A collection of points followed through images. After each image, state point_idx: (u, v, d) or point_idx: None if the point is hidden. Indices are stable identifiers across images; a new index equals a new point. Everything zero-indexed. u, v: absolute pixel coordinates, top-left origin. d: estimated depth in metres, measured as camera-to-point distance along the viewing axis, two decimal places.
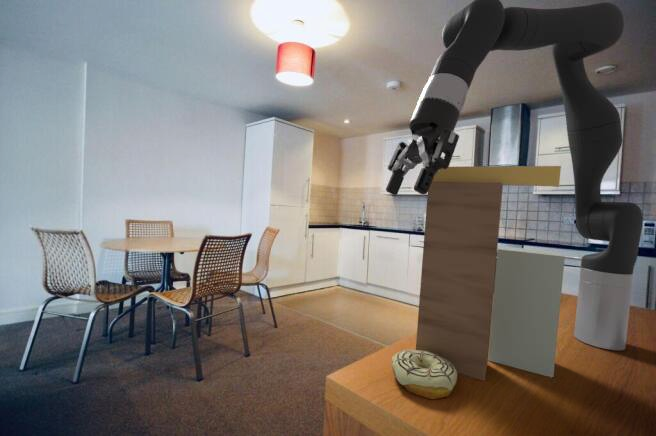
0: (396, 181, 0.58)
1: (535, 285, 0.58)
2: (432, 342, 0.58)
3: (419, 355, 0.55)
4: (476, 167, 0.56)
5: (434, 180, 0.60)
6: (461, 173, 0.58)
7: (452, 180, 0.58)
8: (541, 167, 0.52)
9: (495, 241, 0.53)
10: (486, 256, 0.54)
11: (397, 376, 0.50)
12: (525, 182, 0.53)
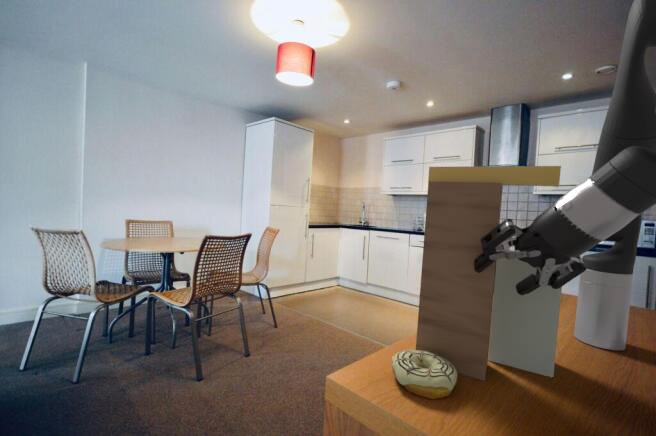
0: None
1: None
2: (432, 342, 0.58)
3: (419, 355, 0.55)
4: (476, 167, 0.56)
5: (434, 180, 0.60)
6: (461, 173, 0.58)
7: (452, 180, 0.58)
8: (541, 167, 0.52)
9: None
10: None
11: (397, 376, 0.50)
12: (525, 182, 0.53)
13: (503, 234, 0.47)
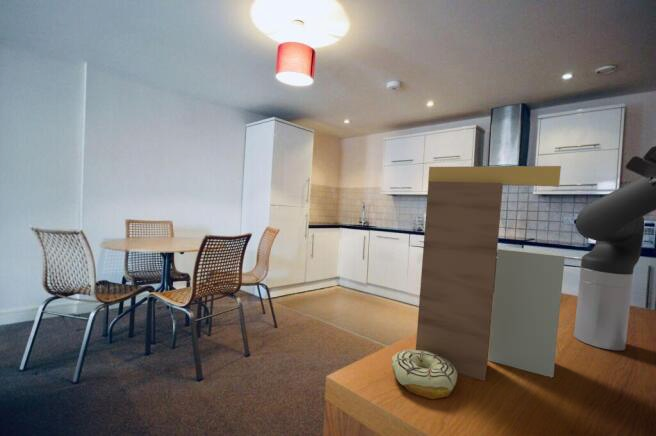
0: None
1: (535, 285, 0.58)
2: (432, 342, 0.58)
3: (419, 355, 0.55)
4: (476, 167, 0.56)
5: (434, 180, 0.60)
6: (461, 173, 0.58)
7: (452, 180, 0.58)
8: (541, 167, 0.52)
9: (495, 241, 0.53)
10: (486, 256, 0.54)
11: (397, 376, 0.50)
12: (525, 182, 0.53)
13: None
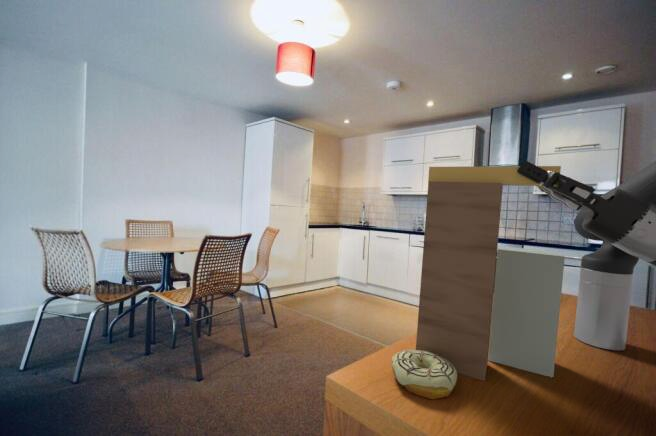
0: None
1: (535, 285, 0.58)
2: (432, 342, 0.58)
3: (419, 355, 0.55)
4: (476, 167, 0.56)
5: (434, 180, 0.60)
6: (461, 173, 0.58)
7: (452, 180, 0.58)
8: (541, 167, 0.52)
9: (495, 241, 0.53)
10: (486, 256, 0.54)
11: (397, 376, 0.50)
12: (525, 182, 0.53)
13: (570, 197, 0.46)
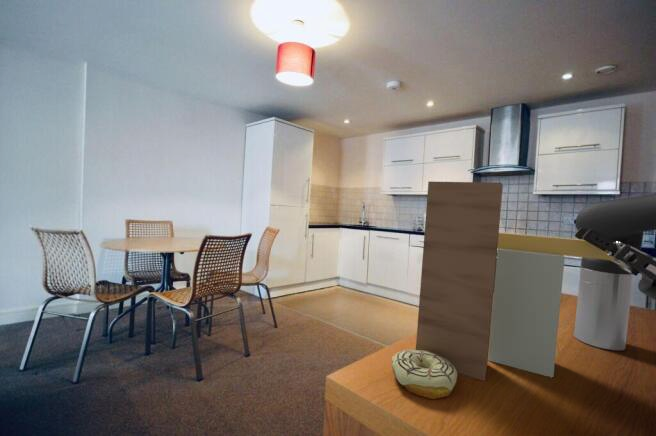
0: None
1: (535, 285, 0.58)
2: (432, 342, 0.58)
3: (419, 355, 0.55)
4: (534, 236, 0.60)
5: None
6: (518, 241, 0.61)
7: (509, 247, 0.62)
8: None
9: (495, 241, 0.53)
10: (486, 256, 0.54)
11: (397, 376, 0.50)
12: (583, 255, 0.56)
13: (643, 273, 0.49)
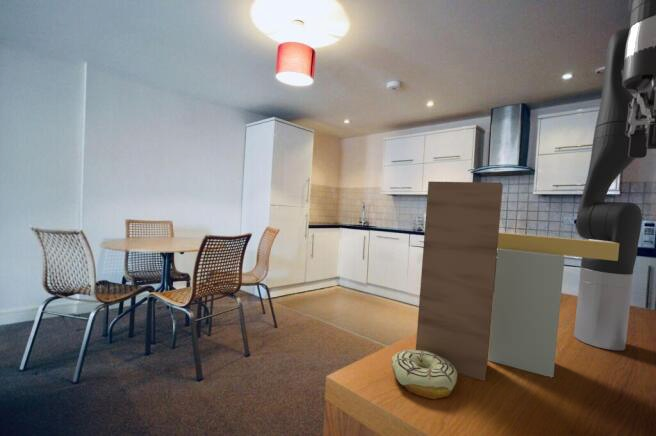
0: (638, 144, 0.55)
1: (535, 285, 0.58)
2: (432, 342, 0.58)
3: (419, 355, 0.55)
4: (534, 236, 0.60)
5: None
6: (518, 241, 0.61)
7: (509, 247, 0.62)
8: (599, 243, 0.55)
9: (495, 241, 0.53)
10: (486, 256, 0.54)
11: (397, 376, 0.50)
12: (583, 255, 0.56)
13: (628, 111, 0.57)
